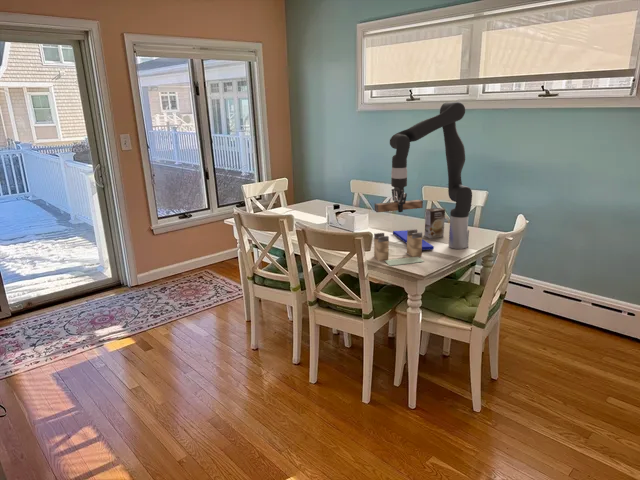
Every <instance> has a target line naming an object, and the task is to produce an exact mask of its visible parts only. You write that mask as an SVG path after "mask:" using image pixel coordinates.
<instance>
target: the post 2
mask: <svg viewBox="0 0 640 480" xmlns="http://www.w3.org/2000/svg"><path fill="white" fill-rule="evenodd" d="M406 231H407V243H406V254H407V255H409V256H410V257H422V256H423V255H422V253H423V252H422V251H423V250H422V239H423V232H422V231H420V232H418V229H407V230H406Z"/></svg>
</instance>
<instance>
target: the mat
mask: <svg viewBox="0 0 640 480" xmlns="http://www.w3.org/2000/svg"><path fill="white" fill-rule="evenodd" d="M384 262H385V264H387V265H388V266H389V267H394V266H401V265H408V264H409V265H410V264H411V265H412V264H418V263H425V260H424V259H422V258H420V256H418V257H412V256H410V257H404V258H403V257H402V258H397V259H396V258H395V259H394V258H393V259H388V260H385V261H384Z"/></svg>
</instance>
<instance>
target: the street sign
mask: <svg viewBox="0 0 640 480" xmlns="http://www.w3.org/2000/svg"><path fill="white" fill-rule="evenodd" d="M392 234H393V235H394V236H396V237H397V238H399V239H400V240H401V241H402V242H404V243H406V244H407V230H393V231H392ZM434 248H435V246H433V245H432V244H431V243H429V242H427V241H426V240H424V239H423V238H422V251H428V250H434Z"/></svg>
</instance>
